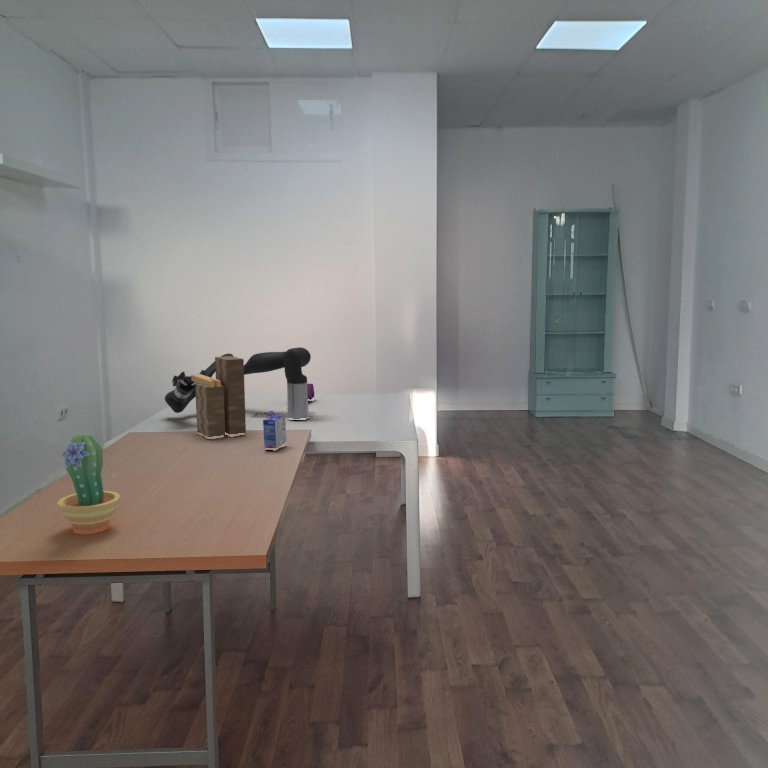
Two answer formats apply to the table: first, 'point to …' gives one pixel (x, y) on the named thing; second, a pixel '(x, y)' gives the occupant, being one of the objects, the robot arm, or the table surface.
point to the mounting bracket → (310, 391)
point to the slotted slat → (206, 380)
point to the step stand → (222, 400)
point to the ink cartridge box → (274, 430)
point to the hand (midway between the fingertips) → (193, 372)
